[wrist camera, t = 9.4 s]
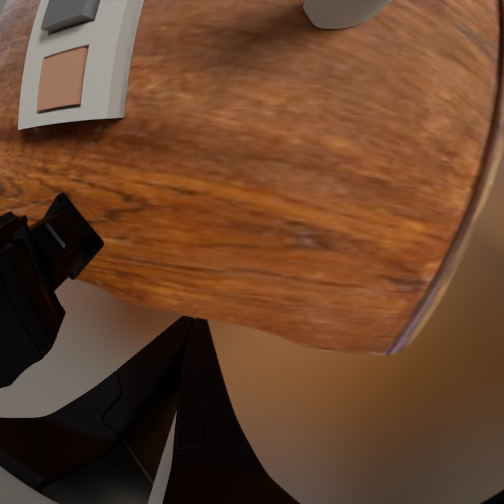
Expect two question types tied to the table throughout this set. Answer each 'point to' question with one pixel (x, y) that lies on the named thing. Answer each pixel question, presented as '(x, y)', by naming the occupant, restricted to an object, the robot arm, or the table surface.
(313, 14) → the eye dropper bottle
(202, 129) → the table surface
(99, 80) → the keypad frame
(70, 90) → the terracotta key
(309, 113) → the table surface
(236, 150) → the table surface
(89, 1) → the charcoal key
